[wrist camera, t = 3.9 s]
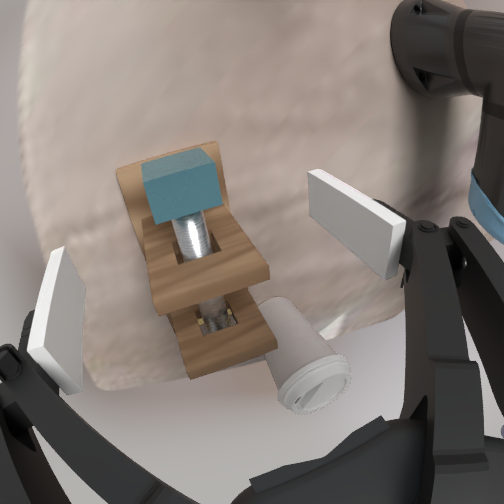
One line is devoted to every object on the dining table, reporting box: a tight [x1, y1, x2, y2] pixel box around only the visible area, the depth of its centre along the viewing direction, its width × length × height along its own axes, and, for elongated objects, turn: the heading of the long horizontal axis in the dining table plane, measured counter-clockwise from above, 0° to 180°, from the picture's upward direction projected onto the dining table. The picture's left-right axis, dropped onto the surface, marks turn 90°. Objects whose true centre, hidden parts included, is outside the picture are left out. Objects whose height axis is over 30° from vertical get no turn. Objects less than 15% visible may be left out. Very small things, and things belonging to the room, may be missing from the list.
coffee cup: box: [258, 297, 351, 414], centre depth 39 cm, size 10×10×15 cm
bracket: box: [116, 141, 278, 380], centre depth 28 cm, size 20×10×14 cm, turn 8°
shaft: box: [141, 147, 231, 334], centre depth 26 cm, size 20×5×5 cm, turn 8°
